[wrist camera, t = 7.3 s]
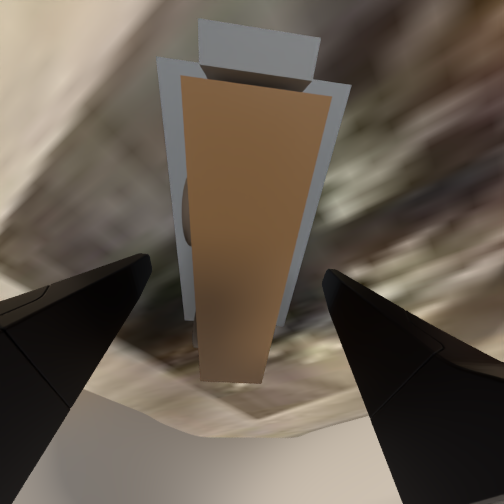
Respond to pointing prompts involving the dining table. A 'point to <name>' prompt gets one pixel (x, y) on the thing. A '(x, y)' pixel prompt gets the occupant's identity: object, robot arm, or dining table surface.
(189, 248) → the display cradle
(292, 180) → the brown rectangular block
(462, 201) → the dining table surface
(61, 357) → the robot arm
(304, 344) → the dining table surface
